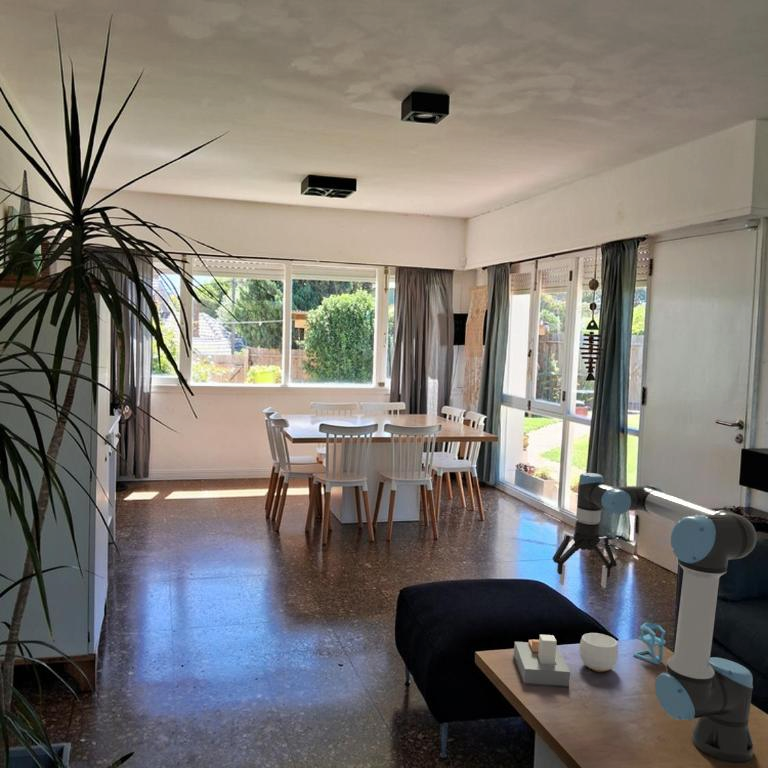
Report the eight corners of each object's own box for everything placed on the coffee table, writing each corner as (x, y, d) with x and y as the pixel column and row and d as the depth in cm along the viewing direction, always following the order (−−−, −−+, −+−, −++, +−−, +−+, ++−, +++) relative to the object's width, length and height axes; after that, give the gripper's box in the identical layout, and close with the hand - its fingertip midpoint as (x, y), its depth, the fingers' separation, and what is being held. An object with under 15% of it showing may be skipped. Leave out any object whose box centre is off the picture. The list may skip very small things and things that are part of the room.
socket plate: (568, 687, 226) (570, 671, 225) (523, 684, 226) (525, 668, 226) (554, 658, 246) (555, 644, 245) (513, 655, 246) (514, 641, 246)
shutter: (553, 653, 238) (554, 642, 237) (532, 651, 238) (533, 641, 237) (549, 643, 245) (549, 633, 244) (528, 642, 245) (529, 632, 244)
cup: (620, 666, 243) (623, 638, 242) (611, 680, 232) (614, 651, 232) (583, 656, 249) (586, 628, 248) (573, 669, 239) (575, 641, 238)
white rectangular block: (553, 677, 231) (556, 641, 230) (539, 676, 231) (542, 640, 230) (550, 671, 235) (553, 635, 234) (536, 670, 235) (539, 634, 234)
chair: (652, 666, 245) (656, 631, 244) (632, 655, 252) (636, 622, 251) (667, 661, 249) (670, 628, 248) (647, 651, 256) (650, 618, 255)
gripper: (622, 520, 238) (617, 583, 239) (546, 515, 238) (541, 578, 240) (630, 526, 230) (624, 591, 232) (551, 521, 231) (546, 586, 232)
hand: (582, 585), depth 236 cm, fingers open, 13 cm apart
